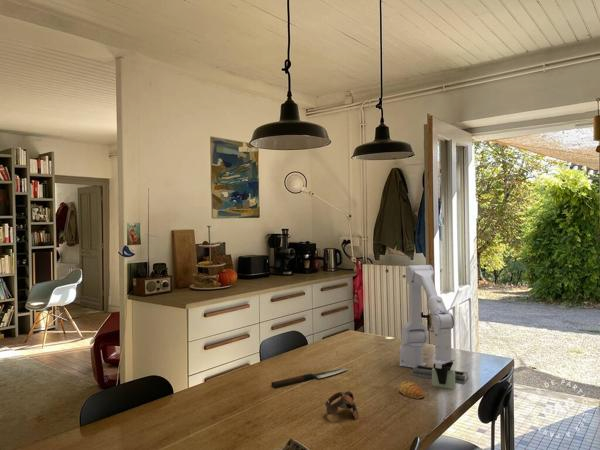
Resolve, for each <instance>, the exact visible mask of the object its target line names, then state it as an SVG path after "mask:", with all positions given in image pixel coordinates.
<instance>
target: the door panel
mask: <svg viewBox="0 0 600 450" xmlns="http://www.w3.org/2000/svg"><path fill="white" fill-rule="evenodd" d="M455 371H456V370H454V371H449V370H448V373H447V378H446V384H445V385H444V384H439V381H438V376H437V373H436V370H435V369H434V368H433V369H432V379H431V386H433V387H440V388H444V389H451V390H455V388H456V383H455Z"/></svg>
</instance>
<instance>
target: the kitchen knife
mask: <svg viewBox="0 0 600 450" xmlns="http://www.w3.org/2000/svg"><path fill="white" fill-rule="evenodd" d="M347 370H349V368H339V369H333V370H332V369H331V370H327V371H322V372H318V373H307V374H303V375H299V376H298V375H297V376H293V377H288V378H286V379H282V380H281V379H280V380H276V381H273V382H270V383H271V385H270V386H271V387H272V388H274V389H278V388H284V387H288V386H293V385H296V384H300V383H304V382H309V381H313V380H314V379H322V378H326V377H329V376H334V375H336V374H339V373H343V372H345V371H347Z"/></svg>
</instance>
